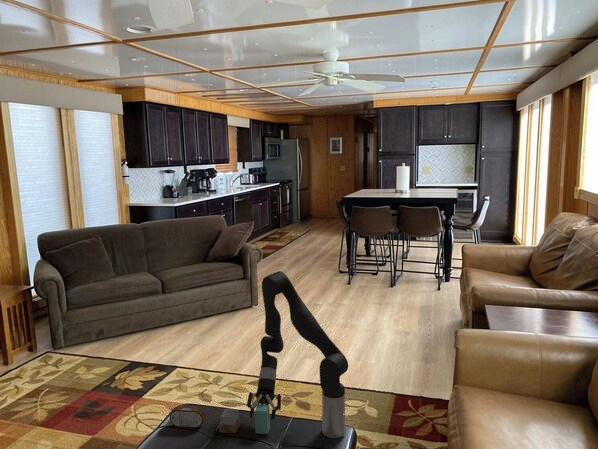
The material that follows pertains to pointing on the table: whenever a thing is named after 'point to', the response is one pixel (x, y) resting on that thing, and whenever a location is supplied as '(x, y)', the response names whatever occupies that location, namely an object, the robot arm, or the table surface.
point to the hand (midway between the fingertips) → (262, 419)
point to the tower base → (229, 427)
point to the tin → (187, 417)
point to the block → (262, 419)
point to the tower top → (229, 417)
